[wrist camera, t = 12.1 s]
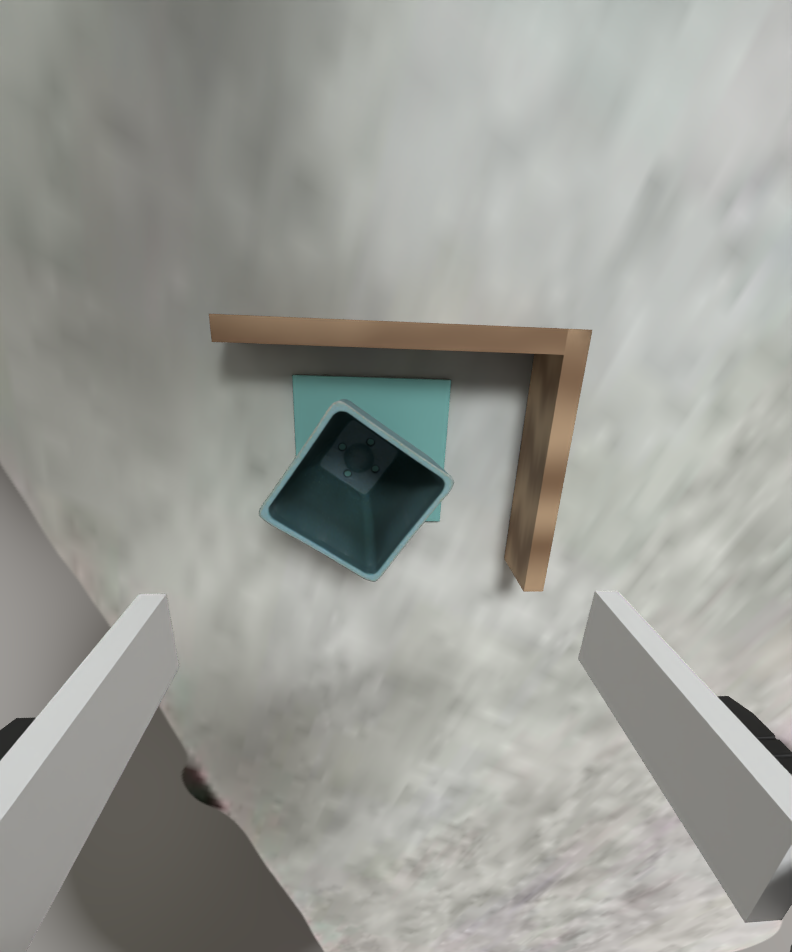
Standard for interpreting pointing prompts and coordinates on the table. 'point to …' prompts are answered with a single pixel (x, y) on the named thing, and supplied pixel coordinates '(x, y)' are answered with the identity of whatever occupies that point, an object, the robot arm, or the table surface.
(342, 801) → the table surface
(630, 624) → the robot arm
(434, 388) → the pad
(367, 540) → the flower pot
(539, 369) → the corner arena
